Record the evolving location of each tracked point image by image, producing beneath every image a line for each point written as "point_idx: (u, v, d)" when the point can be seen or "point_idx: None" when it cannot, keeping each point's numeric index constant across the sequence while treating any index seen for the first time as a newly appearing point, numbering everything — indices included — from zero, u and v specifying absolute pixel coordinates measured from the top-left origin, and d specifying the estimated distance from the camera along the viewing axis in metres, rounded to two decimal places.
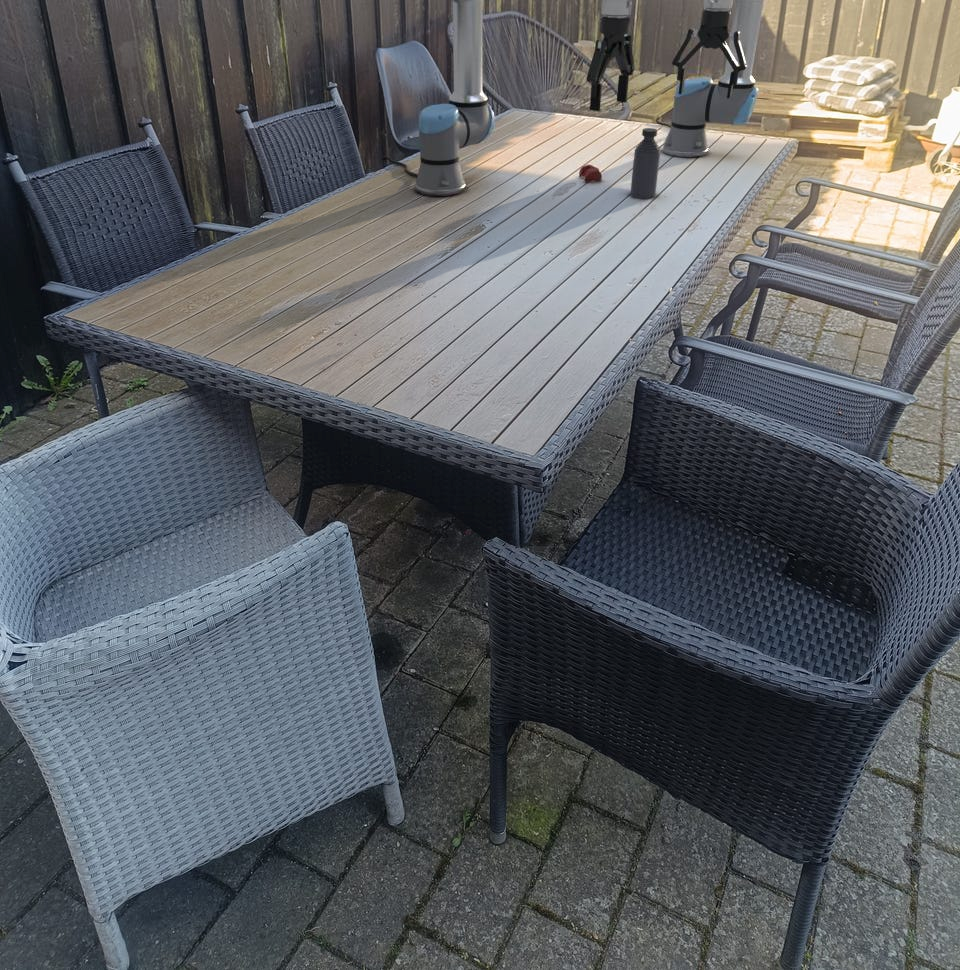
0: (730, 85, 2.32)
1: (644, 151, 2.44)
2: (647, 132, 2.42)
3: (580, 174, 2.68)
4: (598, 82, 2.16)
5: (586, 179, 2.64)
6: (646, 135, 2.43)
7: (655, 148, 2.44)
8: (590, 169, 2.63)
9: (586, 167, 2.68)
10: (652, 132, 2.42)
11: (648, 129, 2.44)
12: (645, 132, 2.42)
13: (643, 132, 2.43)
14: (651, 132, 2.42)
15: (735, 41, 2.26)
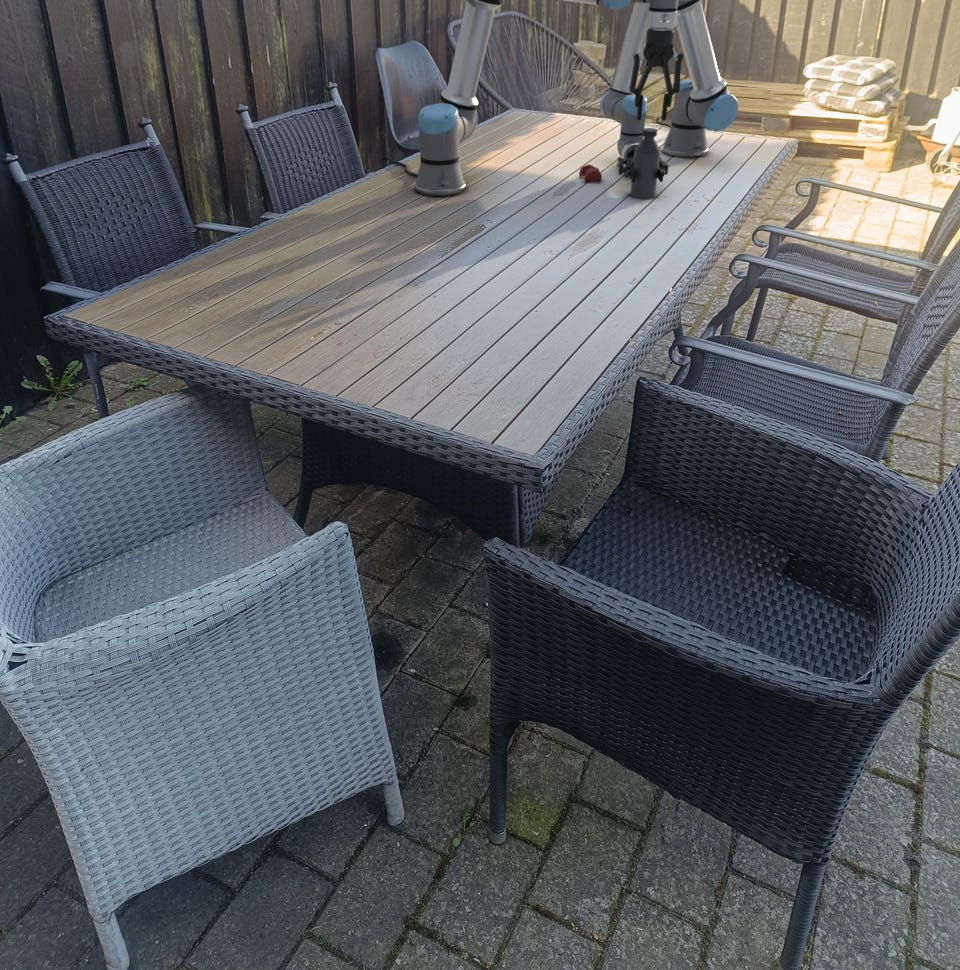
0: (631, 178, 2.50)
1: (644, 151, 2.44)
2: (647, 132, 2.42)
3: (580, 174, 2.68)
4: (638, 93, 2.37)
5: (586, 179, 2.64)
6: (646, 135, 2.43)
7: (655, 148, 2.44)
8: (590, 169, 2.63)
9: (586, 167, 2.68)
10: (652, 132, 2.42)
11: (648, 129, 2.44)
12: (645, 132, 2.42)
13: (643, 132, 2.43)
14: (651, 132, 2.42)
15: None
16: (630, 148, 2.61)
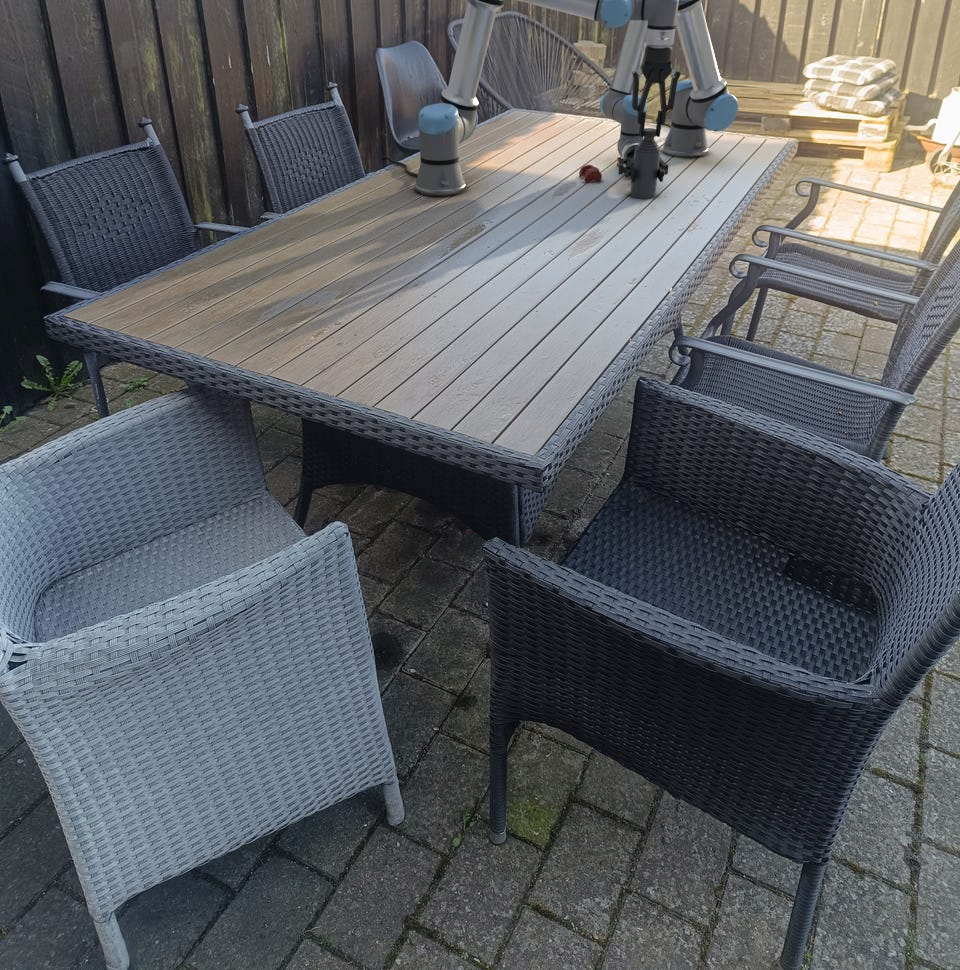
0: (631, 178, 2.50)
1: (644, 151, 2.44)
2: (647, 132, 2.42)
3: (580, 174, 2.68)
4: (640, 111, 2.39)
5: (586, 179, 2.64)
6: (646, 135, 2.43)
7: (655, 148, 2.44)
8: (590, 169, 2.63)
9: (586, 167, 2.68)
10: (652, 132, 2.42)
11: (648, 129, 2.44)
12: (645, 132, 2.42)
13: None
14: (651, 132, 2.42)
15: None
16: (630, 148, 2.61)
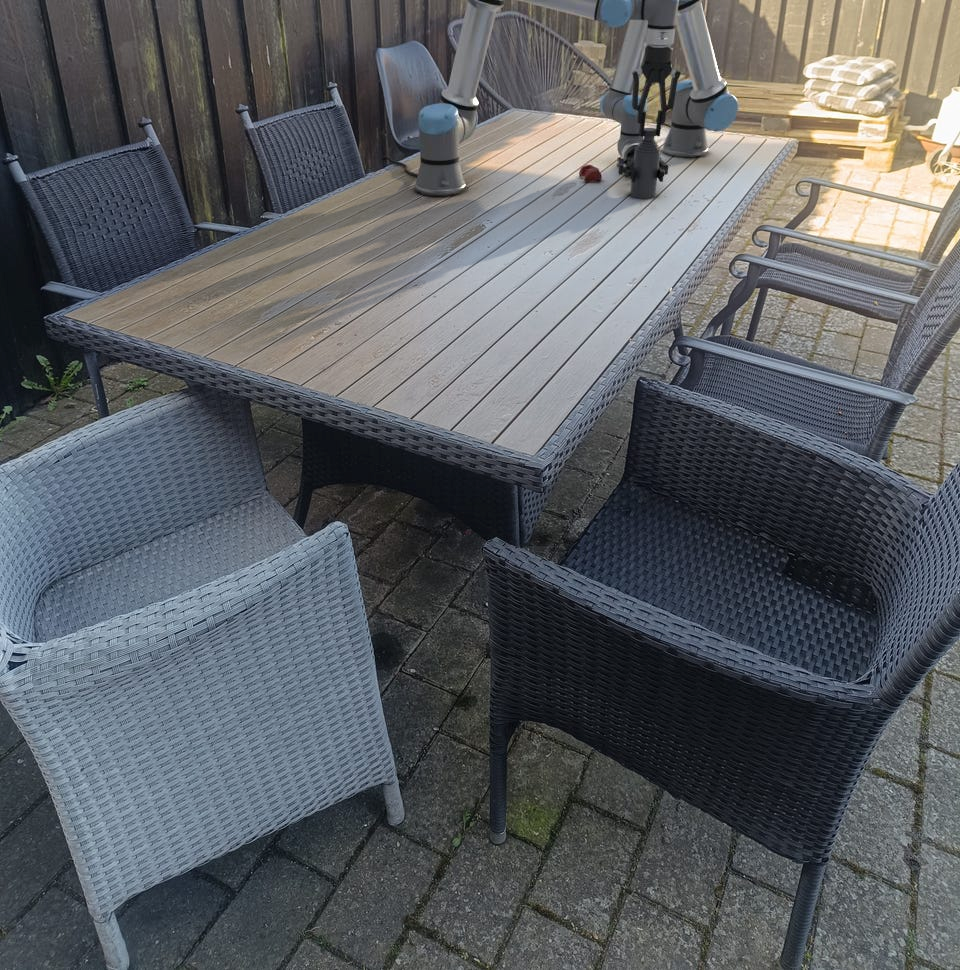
0: (631, 178, 2.50)
1: (644, 151, 2.44)
2: (656, 131, 2.42)
3: (580, 174, 2.68)
4: (640, 110, 2.39)
5: (586, 179, 2.64)
6: (655, 134, 2.43)
7: (655, 148, 2.44)
8: (590, 169, 2.63)
9: (586, 167, 2.68)
10: None
11: (648, 129, 2.43)
12: (655, 132, 2.42)
13: (652, 133, 2.42)
14: None
15: None
16: (630, 148, 2.61)
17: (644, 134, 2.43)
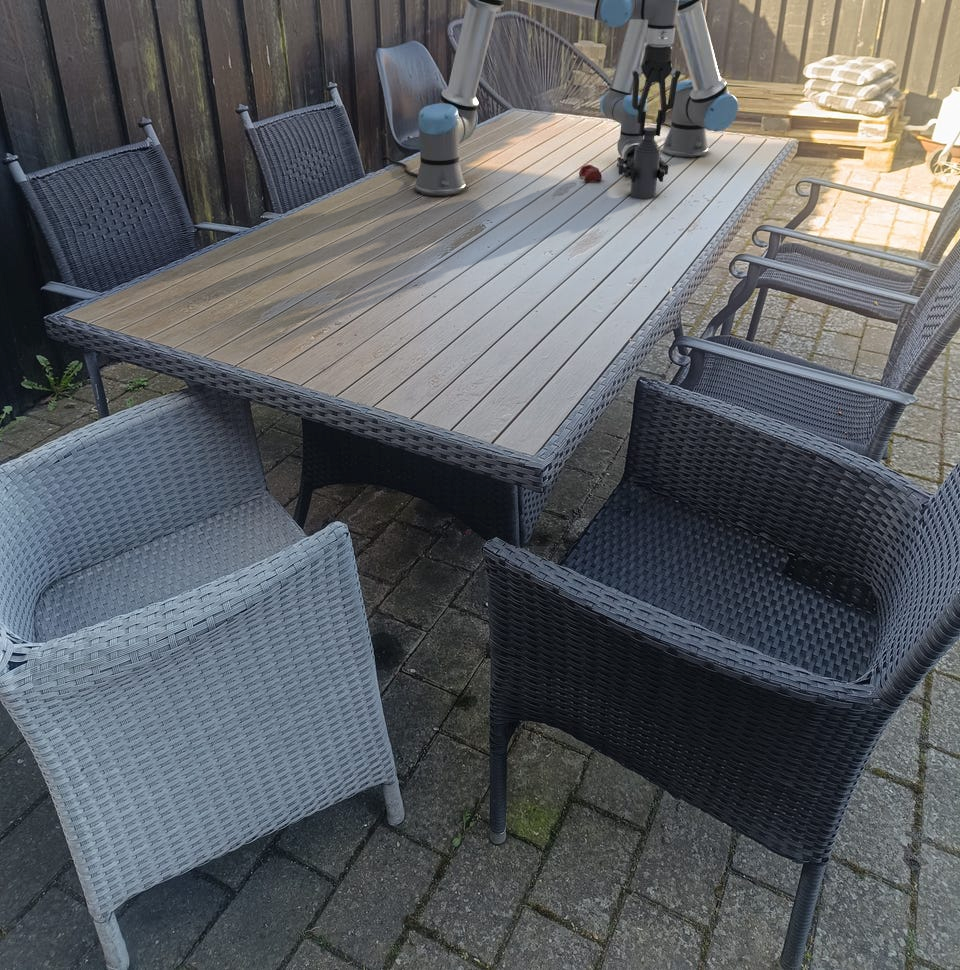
0: (631, 178, 2.50)
1: (644, 151, 2.44)
2: None
3: (580, 174, 2.68)
4: (640, 110, 2.39)
5: (586, 179, 2.64)
6: None
7: (655, 148, 2.44)
8: (590, 169, 2.63)
9: (586, 167, 2.68)
10: None
11: (651, 129, 2.43)
12: None
13: None
14: None
15: None
16: (630, 148, 2.61)
17: (654, 134, 2.42)
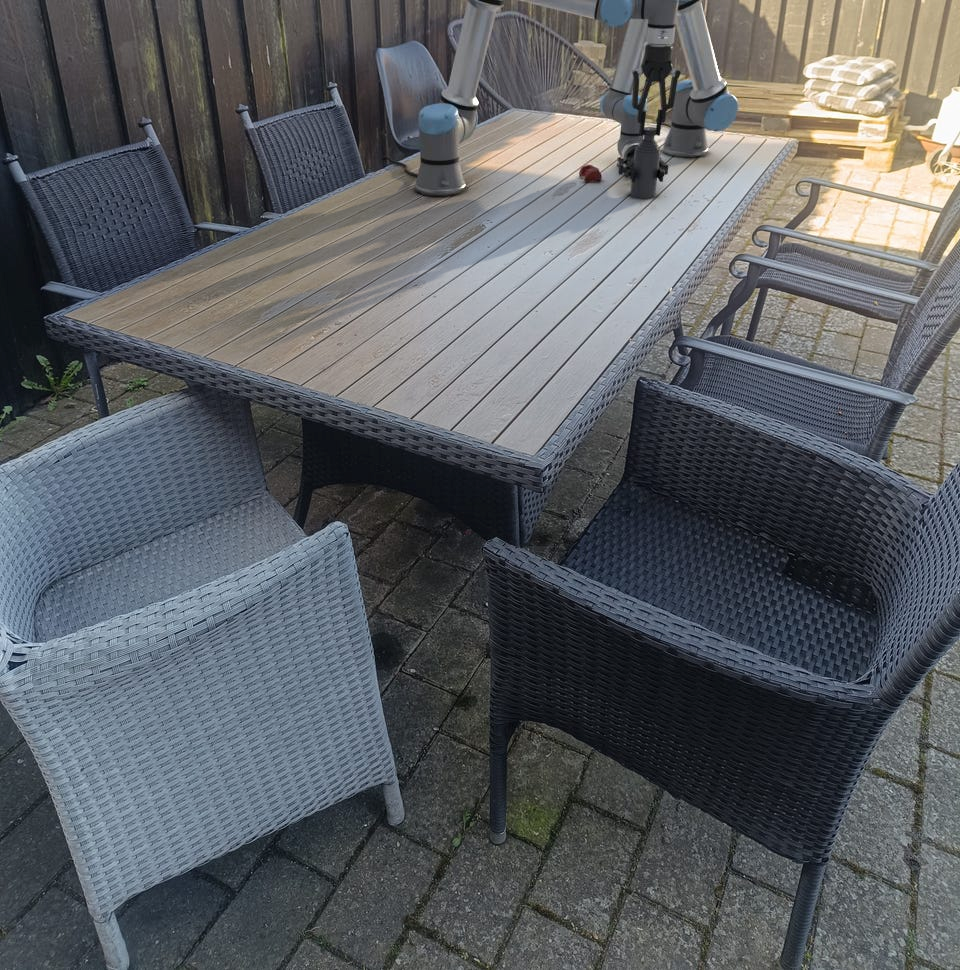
0: (631, 178, 2.50)
1: (644, 151, 2.44)
2: None
3: (580, 174, 2.68)
4: (640, 110, 2.39)
5: (586, 179, 2.64)
6: None
7: (655, 148, 2.44)
8: (590, 169, 2.63)
9: (586, 167, 2.68)
10: None
11: (651, 128, 2.43)
12: None
13: None
14: None
15: None
16: (630, 148, 2.61)
17: None
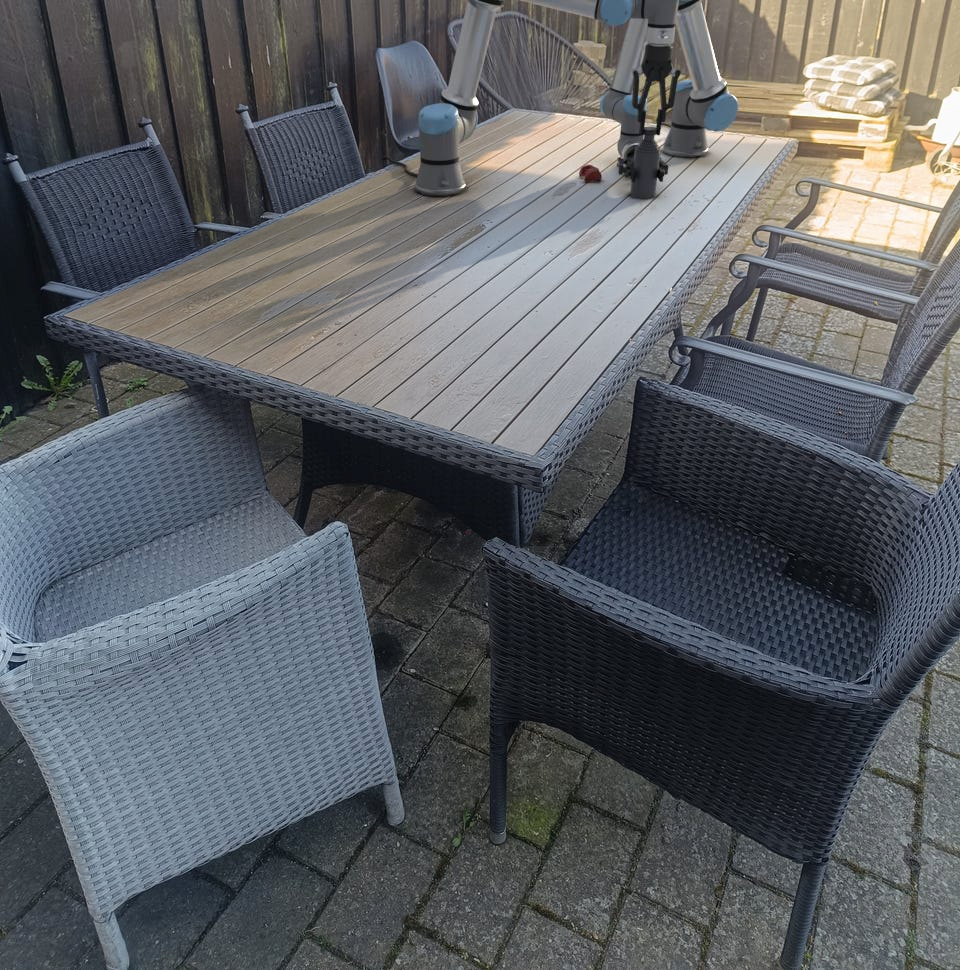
0: (631, 178, 2.50)
1: (644, 151, 2.44)
2: (645, 130, 2.42)
3: (580, 174, 2.68)
4: (640, 109, 2.39)
5: (586, 179, 2.64)
6: (644, 133, 2.43)
7: (655, 148, 2.44)
8: (590, 169, 2.63)
9: (586, 167, 2.68)
10: (649, 130, 2.42)
11: (649, 127, 2.43)
12: None
13: None
14: (648, 130, 2.42)
15: None
16: (630, 148, 2.61)
17: None
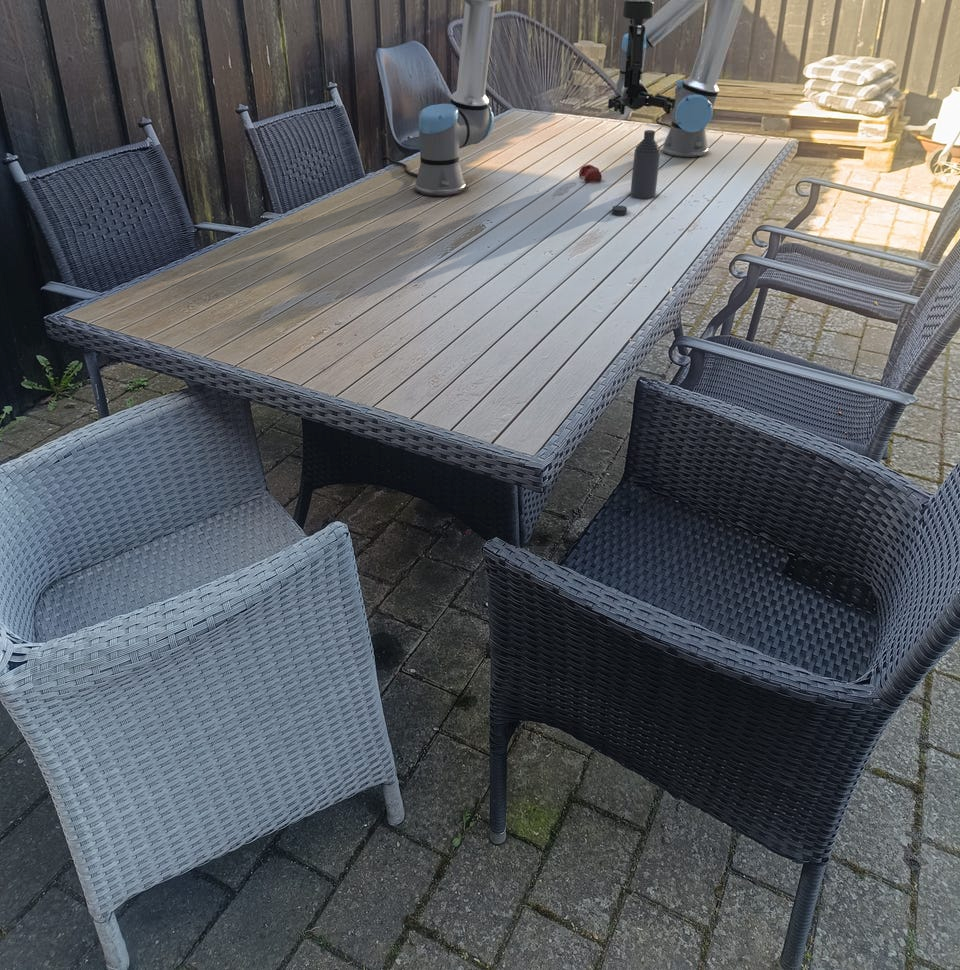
0: (620, 111, 2.52)
1: (644, 151, 2.44)
2: None
3: (580, 174, 2.68)
4: (640, 68, 2.11)
5: (586, 179, 2.64)
6: None
7: (655, 148, 2.44)
8: (590, 169, 2.63)
9: (586, 167, 2.68)
10: None
11: (620, 208, 2.39)
12: None
13: (626, 210, 2.39)
14: None
15: None
16: None
17: (621, 214, 2.38)
